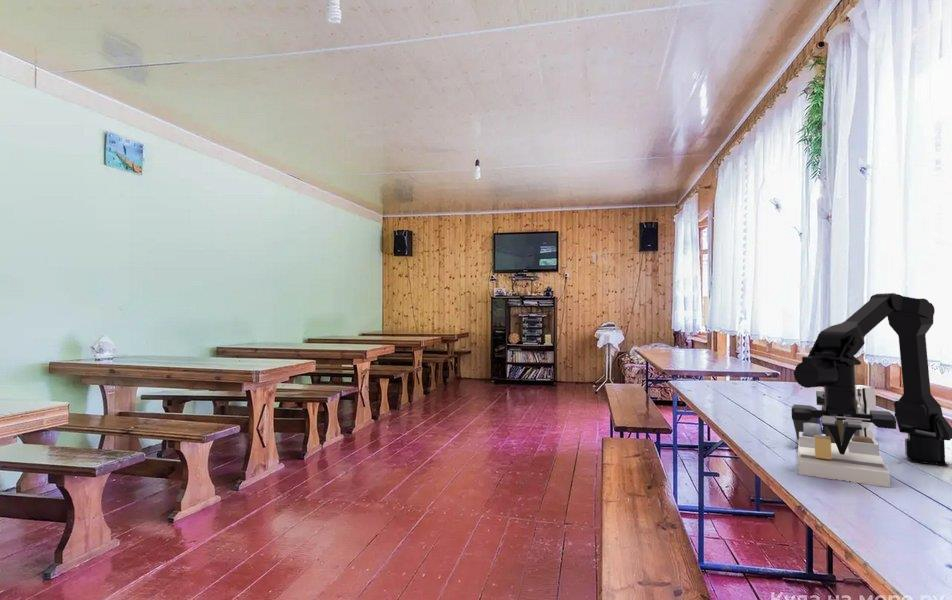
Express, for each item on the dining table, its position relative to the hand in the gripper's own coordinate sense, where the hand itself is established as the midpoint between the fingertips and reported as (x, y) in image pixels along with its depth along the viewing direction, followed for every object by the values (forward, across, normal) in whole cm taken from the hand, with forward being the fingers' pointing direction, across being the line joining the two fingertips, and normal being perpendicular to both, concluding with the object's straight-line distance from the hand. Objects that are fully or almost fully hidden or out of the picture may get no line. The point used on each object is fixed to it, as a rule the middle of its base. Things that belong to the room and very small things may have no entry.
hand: (841, 454), depth 111 cm
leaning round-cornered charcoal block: (+5, +6, -26) cm, 27 cm away
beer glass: (+5, -7, -40) cm, 41 cm away
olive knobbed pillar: (+5, 0, -30) cm, 30 cm away
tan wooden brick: (+1, +4, 0) cm, 4 cm away
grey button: (-1, +5, -12) cm, 13 cm away
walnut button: (+1, -5, -12) cm, 13 cm away
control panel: (+5, 0, -6) cm, 8 cm away
